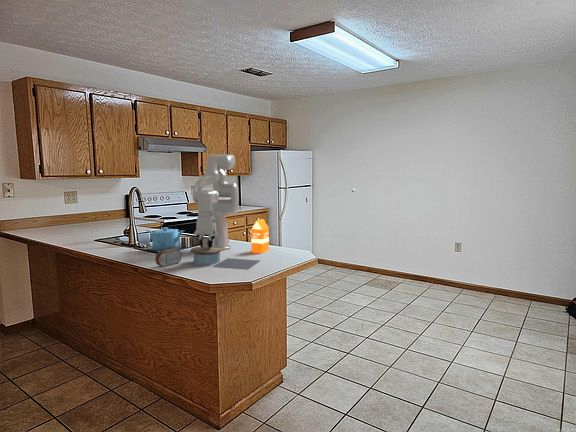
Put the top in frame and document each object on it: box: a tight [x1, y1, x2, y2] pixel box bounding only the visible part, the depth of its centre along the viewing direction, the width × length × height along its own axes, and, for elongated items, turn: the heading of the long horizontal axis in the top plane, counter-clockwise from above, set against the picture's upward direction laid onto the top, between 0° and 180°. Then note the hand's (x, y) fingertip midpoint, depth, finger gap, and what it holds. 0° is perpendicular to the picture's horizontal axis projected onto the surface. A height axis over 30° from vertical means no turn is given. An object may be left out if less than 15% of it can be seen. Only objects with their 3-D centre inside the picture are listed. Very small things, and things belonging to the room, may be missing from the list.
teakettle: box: [145, 226, 186, 253], centre depth 244 cm, size 19×19×15 cm
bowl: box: [192, 251, 221, 266], centre depth 214 cm, size 14×14×6 cm
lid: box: [189, 237, 223, 254], centre depth 213 cm, size 17×17×7 cm
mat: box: [212, 257, 261, 270], centre depth 209 cm, size 20×20×1 cm
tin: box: [154, 248, 183, 267], centre depth 208 cm, size 15×3×8 cm, turn 141°
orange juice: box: [250, 218, 270, 254], centre depth 241 cm, size 8×9×20 cm
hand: (206, 246), depth 213 cm, fingers open, 4 cm apart
